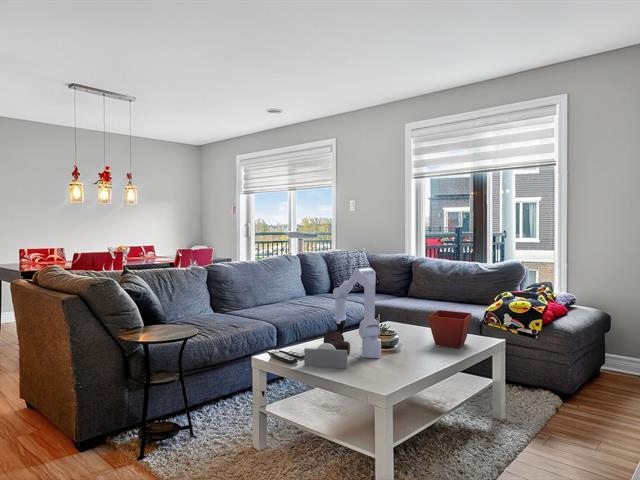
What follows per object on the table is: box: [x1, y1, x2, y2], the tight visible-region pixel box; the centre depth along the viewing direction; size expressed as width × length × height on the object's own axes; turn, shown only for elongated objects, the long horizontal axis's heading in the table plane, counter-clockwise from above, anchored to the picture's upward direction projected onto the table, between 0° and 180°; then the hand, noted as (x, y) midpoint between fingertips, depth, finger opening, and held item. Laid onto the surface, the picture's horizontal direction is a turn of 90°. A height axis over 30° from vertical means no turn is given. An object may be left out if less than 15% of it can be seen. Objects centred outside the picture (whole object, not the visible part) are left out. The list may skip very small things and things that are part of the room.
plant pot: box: [428, 309, 473, 349], centre depth 254 cm, size 19×19×17 cm
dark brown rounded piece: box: [322, 330, 351, 356], centre depth 241 cm, size 10×15×15 cm
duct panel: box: [303, 342, 348, 370], centre depth 216 cm, size 20×3×10 cm, turn 78°
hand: (340, 334), depth 256 cm, fingers closed
